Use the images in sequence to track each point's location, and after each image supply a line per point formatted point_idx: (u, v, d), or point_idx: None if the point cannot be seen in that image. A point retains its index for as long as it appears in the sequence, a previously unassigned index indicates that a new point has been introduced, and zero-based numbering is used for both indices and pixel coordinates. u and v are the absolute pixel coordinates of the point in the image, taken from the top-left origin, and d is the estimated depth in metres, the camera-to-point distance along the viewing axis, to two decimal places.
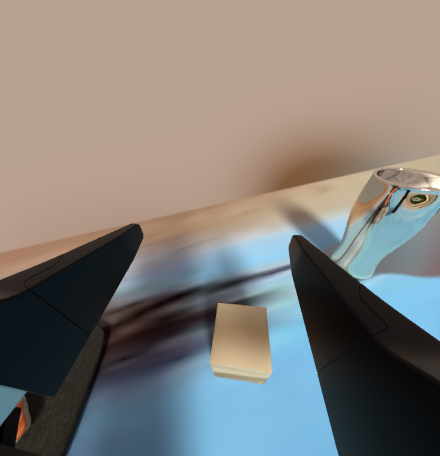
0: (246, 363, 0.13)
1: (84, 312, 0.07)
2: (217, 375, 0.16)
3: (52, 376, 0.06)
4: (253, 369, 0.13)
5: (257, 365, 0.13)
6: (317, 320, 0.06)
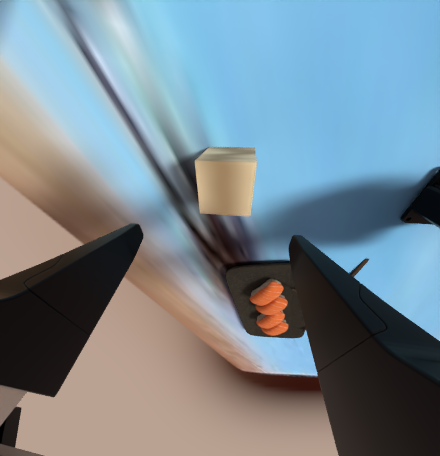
0: (250, 186, 0.14)
1: (84, 312, 0.07)
2: None
3: (52, 376, 0.06)
4: (254, 179, 0.13)
5: (251, 176, 0.13)
6: (317, 320, 0.06)
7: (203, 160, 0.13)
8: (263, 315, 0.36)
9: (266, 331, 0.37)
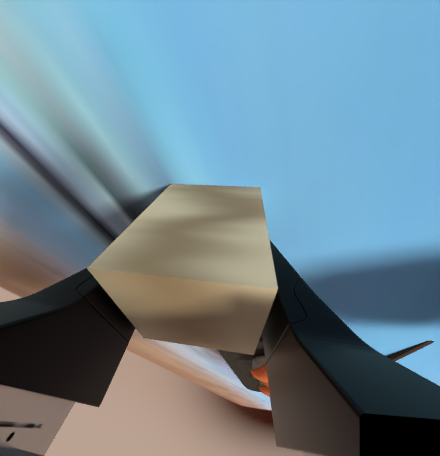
0: (254, 323, 0.05)
1: (124, 318, 0.07)
2: None
3: (98, 385, 0.06)
4: None
5: (259, 310, 0.04)
6: None
7: (115, 263, 0.04)
8: None
9: None
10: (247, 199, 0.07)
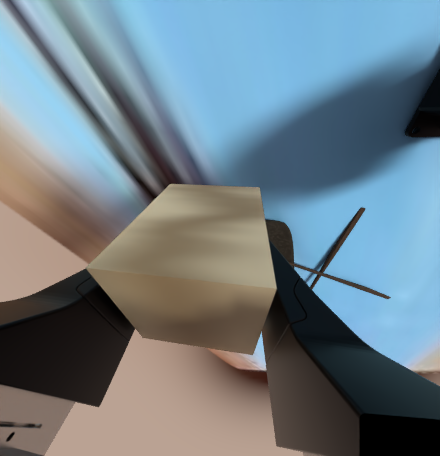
0: (253, 323, 0.05)
1: (124, 318, 0.07)
2: None
3: (98, 385, 0.06)
4: None
5: (258, 310, 0.04)
6: None
7: (114, 263, 0.04)
8: None
9: None
10: (246, 199, 0.07)
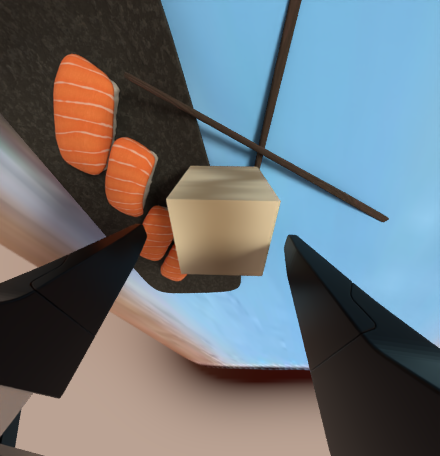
0: (265, 237, 0.08)
1: (89, 313, 0.07)
2: None
3: (58, 377, 0.06)
4: (272, 226, 0.08)
5: (269, 222, 0.07)
6: (310, 319, 0.06)
7: (182, 197, 0.07)
8: None
9: (162, 270, 0.19)
10: (250, 172, 0.11)
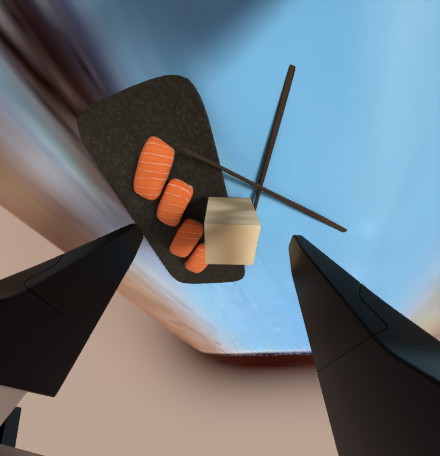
0: (254, 242, 0.15)
1: (84, 312, 0.07)
2: None
3: (52, 376, 0.06)
4: (257, 237, 0.15)
5: (255, 235, 0.14)
6: (317, 320, 0.06)
7: (212, 222, 0.14)
8: None
9: (187, 264, 0.26)
10: (246, 203, 0.18)
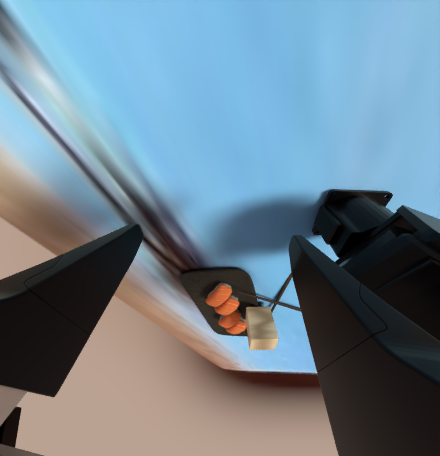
0: (275, 343, 0.30)
1: (84, 312, 0.07)
2: None
3: (52, 376, 0.06)
4: None
5: (276, 341, 0.29)
6: (317, 320, 0.06)
7: (254, 337, 0.29)
8: (223, 315, 0.39)
9: (228, 330, 0.40)
10: (268, 313, 0.32)
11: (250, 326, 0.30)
